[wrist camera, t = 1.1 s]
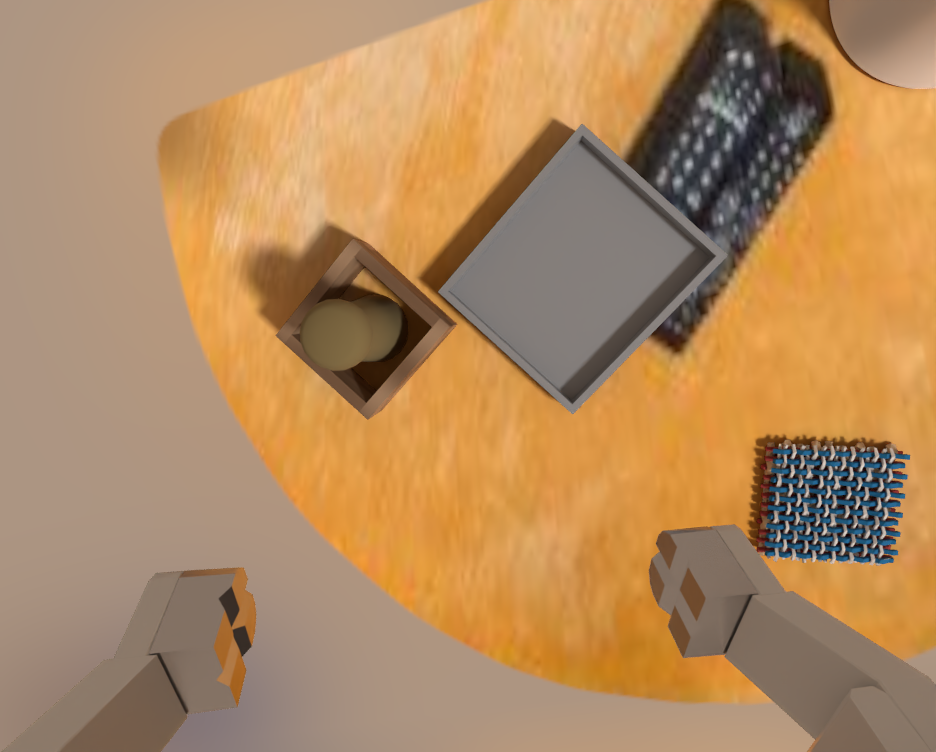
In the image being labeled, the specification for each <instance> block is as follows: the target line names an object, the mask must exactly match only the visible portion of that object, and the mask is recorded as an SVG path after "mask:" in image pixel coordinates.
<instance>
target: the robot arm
mask: <svg viewBox="0 0 936 752" xmlns="http://www.w3.org/2000/svg"><path fill="white" fill-rule="evenodd" d="M829 5H830V14H831V19H832V23H833V27H834V30H835V33H836V35H837V38H838V40H839V42H840V44H841V45H842V47H843V48H844V50H845V51H846V53H847V54H848V56H849V57H850V58H851V59H852V60H853V61H854V62H855V63H856V64H857V65H858V66H859V67H860V68H861V69H863V70H864V71H865V72H867V73H868V74H870V75H871V76H873V77H875V78H877V79H879V80H881V81H883V82H886V83H889V84H892V85H895V86H900V87H905V88H913V89H930V88H936V0H829ZM656 545H657V547H658V549H659V551H660V552H659V553H658V554H656V555H655V556H654V557H653V558H652V560H651V564H650V568H649V576H650V585H651V588H652V592H653V595H654V597H655V599H656V602H657V604H658V606H659V607H661V608H662V609H663V610H664V611H666V612H667V613H668V614H670V615H671V616H670V620H669V624H668V627H669V630H670V632H671V634H672V636H673V638H674V640H675V642H676V644H677V646H678V648H679V650H680V653H681V655H682V657H683V658H688V657H700V656H712V655H725V654H726V655H725V658H726V659H728V660H729V661H730V662H731V663H732V664H733V665H734V666H735V667H736V668H737V669H739V670H740V671H741V672H742V673H743V674H744V675H745V676H746V677H747V678H748V679H749V680H751V681H752V682H753V683H754V684H755V685H756V686H757V687H758V688H759V689H760V690H762V691H763V692H764V693H765V694H766V695H767V696H768V697H769V698H770V699H771V700H772V701H774V702H775V703H776V704H777V705H778V706H779V707H780V708H781V709H782V710H783V711H785V712H786V713H787V714H788V715H789V716H790V717H791V718H792V719H793V720H794V721H795V722H797V723H798V724H799V725H800V726H801V727H802V728H803V729H804V730H805V731H806V732H808V733H809V734H810V735H811V736H812V737H813V738H814V739H815V741H814V743H813V744H812V746H811V747H810V748H809V750H808V751H807V752H936V685H935V684H934V682H933V681H932V680H931V679H930V678H929V677H928V676H926V675H925V674H923V673H921V672H920V671H918V670H917V669H915V668H914V667H912V666H910V665H909V664H907V663H906V662H904V661H903V660H901V659H899V658H898V657H896V656H895V655H893V654H891V653H890V652H888V651H887V650H885V649H884V648H882V647H880V646H879V645H877V644H876V643H874V642H872V641H871V640H869V639H868V638H866V637H865V636H863V635H861V634H860V633H858V632H857V631H855V630H853V629H852V628H850V627H849V626H847V625H846V624H844V623H842V622H841V621H839V620H838V619H836V618H834V617H833V616H831V615H830V614H828V613H827V612H825V611H823V610H822V609H820V608H819V607H817V606H815V605H814V604H812V603H811V602H809V601H808V600H806V599H804V598H803V597H801V596H800V595H798V594H796V593H795V592H793V591H791V592H786V591H785V590H784V588H783V587H782V586H781V584H780V583H779V582H778V580H777V579H776V577H775V576H774V575H773V573H772V572H771V570H770V569H769V568H768V566H767V565H766V564H765V562H764V561H763V559H762V558H761V557H760V555H759V554H758V552H757V551H756V550H755V548H754V547H753V545H752V544H751V543H750V541H749V540H748V539H747V537H746V536H745V534H744V533H743V532H742V530H741V529H740V528H739V527H737V526H736V525H724V526H712V527H707V526H706V527H696V528H686V529H676V530H666V531H662V532H661V533H660V534H659V535H658V539H657V542H656ZM247 580H248V578H247V576H246V573H245V570H244V568H223V569H206V570H191V571H177V572H163V573H156V574H155V575H154V576H153V577H152V578H151V579H150V581H148V583H147V586H146V588H145V590H144V592H143V595H142V597H141V599H140V601H139V603H138V606H137V608H136V610H135V612H134V614H133V617H132V619H131V621H130V623H129V625H128V628H127V630H126V632H125V634H124V636H123V639H122V641H121V643H120V645H119V647H118V650H117V652H116V654H115V656H114V658H113V659H107V660H104V661H102V662H101V663H100V664H99V665H98V666H97V667H96V668H95V669H94V670H93V671H91V672H90V673H89V674H88V675H87V676H86V677H85V678H83V679H82V680H81V681H80V682H79V683H78V684H77V685H76V686H74V687H73V688H72V689H71V690H70V691H69V692H68V693H67V694H66V695H64V697H62V698H61V699H60V700H59V701H58V702H57V703H55V704H54V705H53V706H52V707H51V708H50V709H49V710H48V711H46V712H45V713H44V714H43V715H42V716H41V717H40V718H39V719H38V720H36V721H35V722H34V723H33V724H32V725H31V726H30V727H29V728H27V729H26V730H25V731H24V732H23V733H22V734H21V735H20V736H19V737H17V738H16V739H15V740H14V741H13V742H12V743H11V744H10V745H9V746H8V747H6V748H5V749H4V750H3V751H2V752H161V751H162V750H163V748H164V747H165V746H166V745H167V743H168V742H169V741H170V739H171V738H172V737H173V736H174V734H175V733H176V732H177V730H178V729H179V728H180V727H181V725H182V724H183V723H184V721H185V720H186V719H187V715H186V714H193V713H200V712H207V711H215V710H222V709H229V708H236V707H238V703H239V699H240V695H241V690H242V686H243V682H244V678H245V674H246V668H245V665H244V662H243V659H242V656H244V654H245V653H246V652H247V651H248V650H249V649H250V648H251V647H252V643H253V638H254V634H255V625H256V608H255V602H254V598H253V595H252V594H251V593H249V592H248V591H246V590H245V588H246V584H247Z"/></svg>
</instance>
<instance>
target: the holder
mask: <svg viewBox="0 0 936 752" xmlns="http://www.w3.org/2000/svg"><path fill="white" fill-rule="evenodd" d="M364 267H366V268H367V269H369V270H370V271H371V272H372V273H373V274H374V275H375V276H376V277H377V278H378V279H380V280H381V281H382V282H383V283H384V284H385V285H386V286H387V287H388V288H389V289H391V290H392V291H393V292H394V293H395V294H396V295H397V296H398V297H399V298H401V299H402V300H403V301H404V302H405V303H406V304H407V305H408V306H409V307H410V308H412V309H413V310H414V311H415V312H416V313H417V314H418V315H419V316H420V317H421V318H423V319H424V320H425V321H426V322H427V323H428V324H429V325H430V326H431V327H432V328H431V329H430V331H429V332H428V333H427V334H426V335H425V336H424V337H423V339H422V340H421V341H420V342H419V343H418V344H417V345H416V347H415V348H414V349H413V350H412V351H411V352H410V354H409V355H408V356H407V357H406V358H405V359H404V360H403V362H402V363H401V364H400V365H399V366H398V367H397V369H396V370H395V371H394V372H393V373H392V374H391V375H390V377H389V378H388V379H387V380H386V381H385V382H384V383H383V385H382V386H381V387H380V388H379V389H378V390H377V391H376V390H375V389H373V388H372V387H371V386H370V385H369V384H368V383H367V382H366V381H365V380H364V379H362V378H361V377H360V376H359V375H358V374H357V373H356V372H355V371H354V370H353V369H351V368H349V369H346V370H340V371H332V370H329V369H325V368H322V367H320V366H318V365H317V364H315V363H314V362H312V361H311V360H310V359H309V357H308V356H307V355H306V354H305V352H304V350H303V347H302V345H301V342H300V328H301V323H302V320H303V318H304V317H305V315H306V313H307V312H308V311H309V310H310V309H311V308H312V307H314V306H315V305H316V304H318V303H320V302H322V301H325V300H329V299H339V297H340V296H341V295H342V294H343V293H344V291H345V290H346V289H347V288H348V286H349V285H350V284H351V283H352V281H353V280H354V279H355V278H356V277H357V275H358V274H359V273H360V272H361V270H362V269H363V268H364ZM456 325H457V324H456V323H455V322H454V321H453V320H452V319H451V318H450V317H449V316H448V315H446V314H445V313H444V312H443V311H442V310H441V309H440V308H439V307H438V306H437V305H435V304H434V303H433V302H432V301H431V300H430V299H429V298H428V297H427V296H426V295H424V294H423V293H422V292H421V291H420V290H419V289H418V288H417V287H416V286H415V285H413V284H412V283H411V282H410V281H409V280H408V279H407V278H406V277H405V276H404V275H402V274H401V273H400V272H399V271H398V270H397V269H396V268H395V267H394V266H393V265H391V264H390V263H389V262H388V261H387V260H386V259H385V258H384V257H383V256H382V255H380V254H379V253H378V252H377V251H376V250H375V249H374V248H373V247H372V246H371V245H369V244H368V243H365V242H362V241H359V240H356V239H352V240H351V241H350V243H349V244H348V245H347V247H346V248H345V249H344V250H343V252H342V253H341V254H340V255H339V257H338V258H337V259H336V260H335V262H334V263H333V264H332V265H331V267H330V268H329V269H328V270H327V272H326V273H325V274H324V275H323V277H322V278H321V279H320V280H319V282H318V283H317V284H316V285H315V287H314V288H313V289H312V290H311V292H310V293H309V294H308V295H307V297H306V298H305V299H304V300H303V302H302V303H301V304H300V305H299V307H298V308H297V309H296V311H295V312H294V313H293V314H292V316H291V317H290V318H289V319H288V321H287V322H286V323H285V324H284V326H283V327H282V328H281V329H280V331H279V332H278V333H277V334H276V336H277V337H278V338H279V339H280V340H281V341H282V342H283V343H284V344H285V345H286V346H288V347H289V348H290V349H291V350H292V351H293V352H294V353H295V354H296V355H297V356H299V357H300V358H301V359H302V360H303V361H304V362H305V363H306V364H307V365H308V366H309V367H311V368H312V369H313V370H314V371H315V372H316V373H317V374H318V375H319V376H320V377H322V378H323V379H324V380H325V381H326V382H327V383H328V384H329V385H330V386H331V387H333V388H334V389H335V390H336V391H337V392H338V393H339V394H340V395H341V396H342V397H343V398H345V399H346V400H347V401H348V402H349V403H350V404H351V405H352V406H353V407H354V408H356V409H357V410H358V411H359V412H360V413H361V414H362V415H363V416H364V417H365V418H366V419H370V418H371V417H373V416H374V415H375V414H377V413H378V412H380V411H381V410H382V409H383V408H384V407H385V406H386V405H387V404H388V403H389V401H390V400H391V399H392V398H393V397H394V396H395V395H396V393H397V392H398V391H399V390H400V389H401V388H402V387H403V385H404V384H405V383H406V382H407V381H408V380H409V379H410V377H411V376H412V375H413V374H414V373H415V372H416V371H417V370H418V368H419V367H420V366H421V365H422V364H423V363H424V362H425V360H426V359H427V358H428V357H429V356H430V355H431V354H432V352H433V351H434V350H435V349H436V348H437V347H438V346H439V345H440V343H441V342H442V341H443V340H444V339H445V338H446V337H447V335H448V334H449V333H450V332H451V331H452V330H453V329H454V327H455V326H456Z"/></svg>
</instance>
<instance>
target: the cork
mask: <svg viewBox="0 0 936 752" xmlns="http://www.w3.org/2000/svg"><path fill="white" fill-rule="evenodd" d="M407 335H408V322H407V319H406V317H405V314H404V312H403V310H402V309H401V308H400V306H399V305H398V304H397V303H396V302H394V301H393V300H391V299H390V298H388V297H385V296H381V295H367V296H364V297H362V298H359V299H357V300H355V301H352V302H349V301H346V300H342V299H329V300H325V301H322V302H320V303H318V304H316V305H315V306H314V307H312V308H311V309H310V310H309V311H308V312H307V313H306V315H305V317H304V318H303V320H302V323H301V328H300V342H301V345H302V347H303V350H304V352H305V354H306V355H307V356H308V357H309V359H310V360H311V361H312V362H314V363H315V364H317V365H318V366H320V367H322V368H325V369H329V370H332V371H340V370H346V369H349V368H351V367H354V366H356V365H357V364H359V363H360V362H361V361H364V362H383V361H386V360H388V359H391V358H393V357H394V356H395V355H397V354H398V353H399V352H400V351H401V349H402V348H403V346H404V345H405V343H406V339H407Z"/></svg>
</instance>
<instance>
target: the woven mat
mask: <svg viewBox="0 0 936 752" xmlns="http://www.w3.org/2000/svg"><path fill="white" fill-rule="evenodd" d="M850 448H851V450H847V447H846V446H842V445H841V446H835V449H834V447H833V441H825V445H824V446H823V447H822V448H821V445H820V442H818V441H817V440H816V441H812V442H811V447H809V445H806V446H804V444H797V446H796V447H795V444H792V443H791V441H790V440H785V441H784V442H783V443H782V444H779V447H775V443H774V442H768V444H767V447H765V451H766V456H765V457H764V460H765V461H766V463H767V464H762V465H761V469H763V470H765V469H766V470H765V475H763V479H764V484H761V488H763V493H761V497H762V498H763V500H762V502H761V507H762V511H760V516H761V517H762V518H759V519H757V523H759V524H761V523H762V524H761V525H760V529H758V533H759V534H760V535H759V537H757V542H759V545H758V547H757V552H759V555H762V556H763V555H764V552H765V555H766V556H767V558H770V556H773V557H774V559H773V561H775V562H776V561H777V559H779V558H780V557H782V559H785V558H788V557H790V558H791V560H792V561H793V560H794V559H795V557H796V560H797V561H800V558H802V562H803V563H806V560H807V559H810V558H812V559H811V561H812V562H814V561H815V559H818V561H819V562H822V560H823V561H824V562H827V559H829V558H830V559H831V561H830V563H832V564H833V563H834V562H835V560H837V561H839V563H842V562H846V563H850V564H852V563H853V561H855V562H860V564H864V563H865V562H870V563H869V564H870V565H873V564H874V563H875V564H876V565H880V564H885V563H893V561H894V559H893V557H892V556H890V555H898V551H897V550H890V547H891V545H890V544H896V540H895V539H893V537H890V536H895V537H900V532H898V531H895V529H894V528H889V527H888V526H892V525H897V526H898V520H896V519H894V518H887V517H888V516H891V517H897V518H902V517H903V513H900V512H895V509H894V508H890V507H900V504H901V503H900V501H898V500H891V499H889V498H890V497H894V498H901V499H905V494H903V493H899V491H898V490H889V488H903V483H902V482H900V481H891V479H892V478H896V479H907V476H908V475H906V474H902V472H899V471H892V470H891V469H898V468H905V463H903V462H898V461H895V460H896V458H898V459H908V460H910V455H907V454H903V451H898V450H897V448H896V445H895V444H892V443H890V444H887V445H886V449H883V450H880V451H878V450H877V448H875V447H873V446H869V447H867V450H865V449H866V447H865V445H864V444H863V443H857V444H856V445H855V446H854V447H850ZM774 453H776V454H778V456H774ZM789 454H792V455H791V457H789ZM804 456H806V458H804ZM820 456H821V458H819V457H820ZM849 456H851V457H850V458H849ZM863 458H866V460H863ZM878 458H881V461H877V459H878ZM788 464H790V466H788ZM804 464H806V466H807V467H803V466H804ZM816 465H821V467H820V468H816ZM832 467H833V468H832ZM863 467H866V468H864V469H863ZM880 467H881V469H880V470H879V469H878V468H880ZM847 468H849V469H847ZM775 473H776V474H777V475H774V474H775ZM787 473H790V475H787ZM805 475H806V476H805ZM815 475H819V477H815ZM832 475H833V477H834V478H831V477H832ZM844 476H849V477H848V478H844ZM861 478H865V479H861ZM877 478H878V479H879V480H876V479H877ZM772 482H773V483H775V482H777V484H772ZM786 483H788V485H786ZM803 483H804V484H805V486H802V484H803ZM815 484H819V485H816V486H814V485H815ZM832 485H834V486H832ZM843 486H846V487H847V488H844V487H843ZM861 486H864V488H861ZM873 487H879V488H878V489H872V488H873ZM803 493H805V494H804V495H800V494H803ZM814 493H815V494H817V495H814ZM831 494H832V496H830V495H831ZM842 495H847V496H843V497H842ZM862 496H863V497H862ZM871 496H874V497H876V498H877V499H876V498H871ZM770 501H774V502H775V503H771V502H770ZM801 502H802V503H801ZM817 502H818V503H817ZM815 503H817V504H815ZM828 504H832V505H828ZM841 504H842V505H844V506H845V507H844V506H841ZM859 505H862V507H858V506H859ZM871 506H875V507H871ZM770 510H774V512H772V511H770ZM785 510H787V511H786V512H784V511H785ZM802 511H803V513H798V512H802ZM813 513H815V514H813ZM828 513H829V514H828ZM844 513H845V514H844ZM860 515H861V516H860ZM869 515H872V516H874V517H869ZM772 519H774V520H772ZM783 520H784V521H783ZM799 520H800V522H799ZM788 521H789V522H788ZM813 521H816V522H815V523H811V522H813ZM829 522H830V524H826V523H829ZM873 524H875V525H874V526H873ZM884 526H886V527H884ZM769 529H771V530H769ZM782 529H784V530H782ZM810 531H813V532H810ZM826 532H827V533H826ZM839 532H843V533H842V534H840V533H839ZM870 534H871V535H870ZM885 535H890V536H885ZM781 538H782V539H781ZM813 539H814V540H813ZM809 540H810V541H809ZM838 541H839V542H840V543H837V542H838ZM870 543H872V545H869V544H870ZM765 546H766V547H765ZM808 549H810V550H808ZM869 553H870V554H869ZM883 553H884V554H890V555H883ZM855 562H854V563H855Z"/></svg>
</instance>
